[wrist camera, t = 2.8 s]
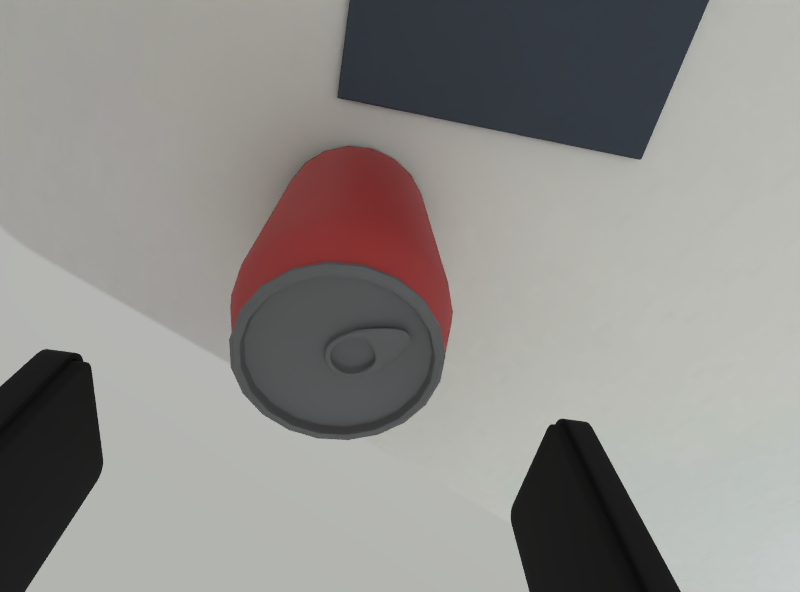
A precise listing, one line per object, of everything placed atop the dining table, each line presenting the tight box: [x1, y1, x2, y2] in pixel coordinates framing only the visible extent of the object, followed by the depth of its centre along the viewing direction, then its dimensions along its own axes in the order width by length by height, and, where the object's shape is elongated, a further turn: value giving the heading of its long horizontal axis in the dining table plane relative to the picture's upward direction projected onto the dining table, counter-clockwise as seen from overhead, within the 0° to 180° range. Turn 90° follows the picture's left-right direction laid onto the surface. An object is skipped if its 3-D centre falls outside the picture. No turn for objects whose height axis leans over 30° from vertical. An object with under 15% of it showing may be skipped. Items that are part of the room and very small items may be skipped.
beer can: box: [229, 146, 453, 440], centre depth 18 cm, size 7×7×12 cm
